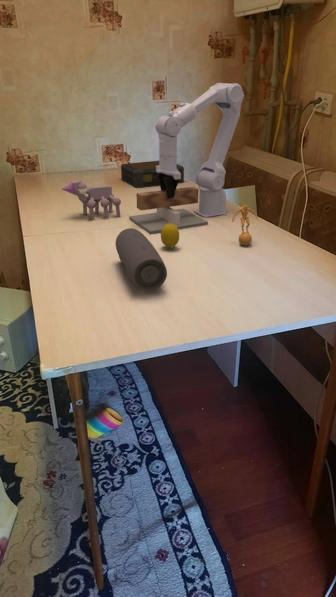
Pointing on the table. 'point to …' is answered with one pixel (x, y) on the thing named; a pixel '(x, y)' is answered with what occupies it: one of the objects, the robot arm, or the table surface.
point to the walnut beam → (160, 198)
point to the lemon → (170, 235)
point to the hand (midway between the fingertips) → (167, 196)
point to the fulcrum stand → (167, 219)
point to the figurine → (245, 236)
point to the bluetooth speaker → (140, 259)
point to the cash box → (144, 174)
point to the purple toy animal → (94, 197)
